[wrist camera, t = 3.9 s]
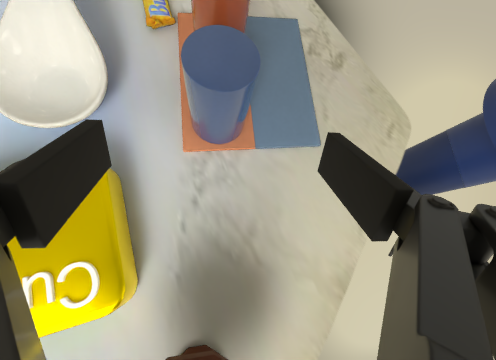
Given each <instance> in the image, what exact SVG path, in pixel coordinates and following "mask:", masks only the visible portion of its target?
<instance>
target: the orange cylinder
mask: <svg viewBox="0 0 496 360" xmlns="http://www.w3.org/2000/svg"><path fill="white" fill-rule="evenodd" d="M191 6H192V19H193V31H195V30H197V29H199V28H202V27H204V26H209V25H225V26H229V27H233V28H235V29H238V30H239V31H241V32H243V33H244V34H245V30H246V24H247V18H248V12H249V6H250V0H191Z"/></svg>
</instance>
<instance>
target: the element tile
mask: <svg viewBox="0 0 496 360" xmlns="http://www.w3.org/2000/svg"><path fill="white" fill-rule="evenodd" d="M7 246H8V247H9V249H10V251H11V254H12V257H13V260H14V263H15V266H16V269H17V272H18V275H19V278H20V281H21V284H22V287H23V290H24V293H25V296H26V300H27V303H28V306H29V309H30V312H31V315H32V318H33V321H34V324H35V327H36V330H37V333H38V336H39V338H40V337H43V336H46V335H49V334H53V333H56V332H59V331H62V330H65V329H68V328H71V327H74V326H77V325H80V324H83V323H87V322H90V321H93V320H96V319H99V318H102V317H104V316H106V315H109V314H111V313H112V312H114V311H115V310H116V309H118V308H119V307H121V306H122V305H123V304H125V303H126V302H127V301H129V300H130V299H131V298H132V296H133V295H134V293H135V292H136V288H137V282H138V279H137V273H136V267H135V261H134V256H133V250H132V244H131V238H130V232H129V227H128V221H127V215H126V209H125V204H124V198H123V192H122V186H121V181H120V179H119V177H118V175H117V174H116V172H115V171H113V170H112V169H111V168H109V169H108V170H107V172H106V173H105V174H104V175H103V177H102V178H101V179H100V180H99V182H98V183H97V184H96V185H95V187H94V188H93V189H92V190H91V192H90V193H89V194H88V195H87V197H86V198H85V199H84V200H83V202H82V203H81V204H80V205H79V207H78V208H77V209H76V210H75V212H74V213H73V214H72V215H71V217H70V218H69V219H68V220H67V222H66V223H65V224H64V225H63V227H62V228H61V229H60V230H59V232H58V233H57V234H56V235H55V237H54V238H53V239H52V240H51V242H50V243H49V244H48V245H47V246H46V248H21V246H20V244H19V243H18V241H17V239H16V237H14V238H13V239H12V240H11V241H10V242H9V243H8V244H7Z"/></svg>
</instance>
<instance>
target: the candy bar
mask: <svg viewBox="0 0 496 360" xmlns="http://www.w3.org/2000/svg"><path fill="white" fill-rule="evenodd" d="M143 4H144V9H145V13H146V24H147V26H148V27H152V28H153V29H156V28H160V27H163V26H168V25H173V24H174V23H175V22H176V21H175V19H174V17H173V18H172V15H171V12H170V8H169V4H168V0H143Z"/></svg>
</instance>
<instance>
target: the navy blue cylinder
mask: <svg viewBox="0 0 496 360" xmlns="http://www.w3.org/2000/svg"><path fill="white" fill-rule="evenodd" d="M181 62H182V68H183V75H184V81H185V87H186V93H187V99H188V106H189V112H190V118H191V124H192V127H193V129H194V131H195V133H196V134H197V135H198V136H199V137H200V138H201V139H203V140H204V141H206V142H209V143H212V144H225V143H229V142H231V141H233V140H235V139H236V138H237V137H238V136H239V135H240V134H241V132H242V130H243V127H244V124H245V120H246V116H247V113H248V109H249V106H250V102H251V99H252V95H253V92H254V88H255V85H256V81H257V78H258V74H259V71H260V66H261V58H260V54H259V51H258V49H257V47H256V45H255V44H254V42H253V41H252V40H251V39H250V38H249V37H248V36H247V35H246V34H244V33H243V32H241V31H239V30H238V29H235V28H233V27H229V26H225V25H209V26H204V27H202V28H199V29H197V30H195V31H194V32H192V33H191V34H190V35H189V36H188V37H187V38H186V40H185V42H184V43H183V46H182V49H181Z"/></svg>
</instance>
